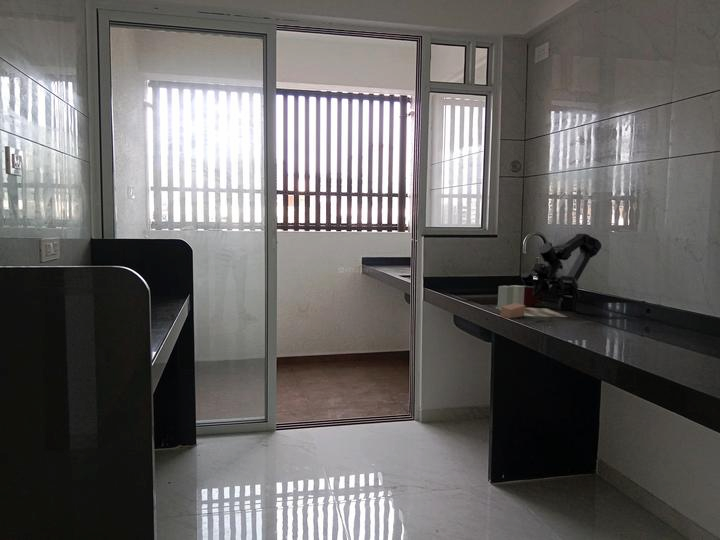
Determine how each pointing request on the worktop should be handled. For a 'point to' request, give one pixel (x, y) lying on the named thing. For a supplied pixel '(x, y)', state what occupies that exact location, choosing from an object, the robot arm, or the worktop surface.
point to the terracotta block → (512, 310)
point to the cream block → (518, 294)
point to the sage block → (505, 296)
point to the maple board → (541, 312)
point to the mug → (531, 297)
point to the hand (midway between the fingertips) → (533, 296)
